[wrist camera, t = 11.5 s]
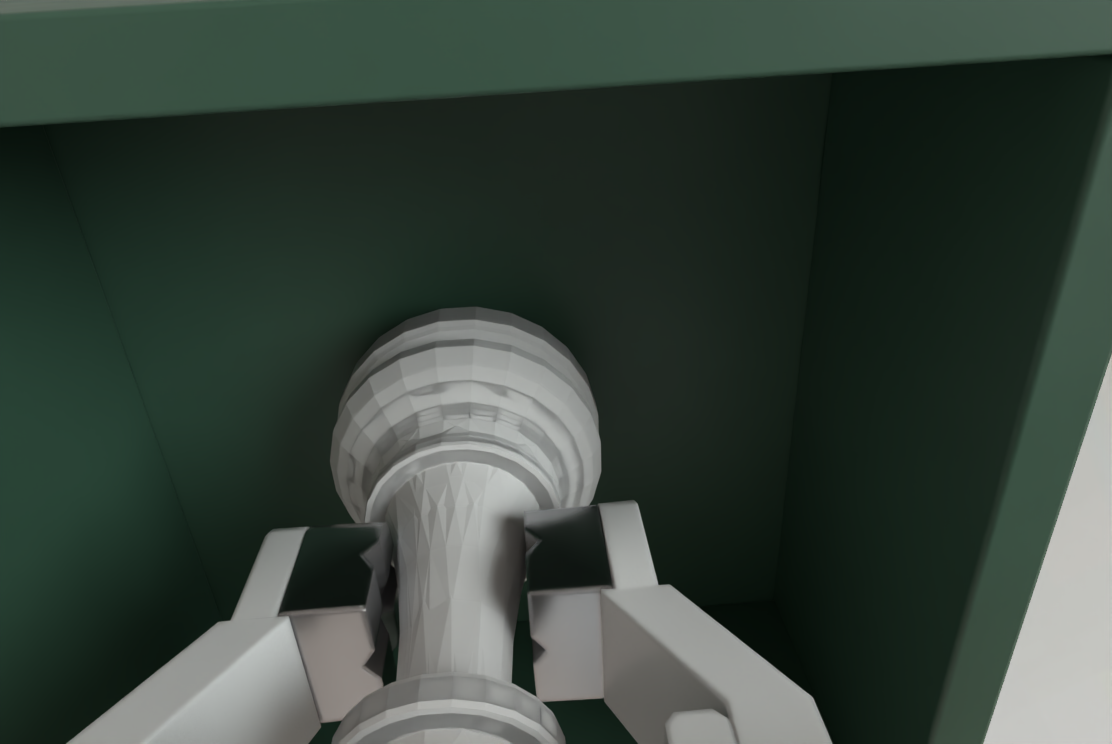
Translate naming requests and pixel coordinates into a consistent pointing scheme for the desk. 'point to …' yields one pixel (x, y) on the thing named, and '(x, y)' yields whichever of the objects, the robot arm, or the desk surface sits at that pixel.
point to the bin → (559, 308)
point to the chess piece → (461, 510)
